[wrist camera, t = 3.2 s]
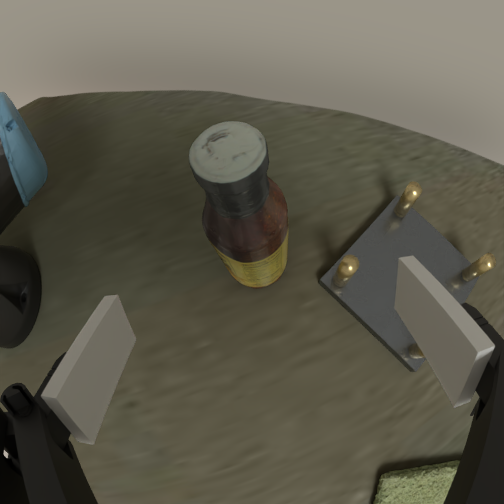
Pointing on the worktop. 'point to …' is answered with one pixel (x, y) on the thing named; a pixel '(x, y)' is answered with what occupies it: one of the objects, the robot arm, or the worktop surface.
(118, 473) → the worktop surface
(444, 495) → the washcloth
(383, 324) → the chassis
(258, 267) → the sauce bottle
